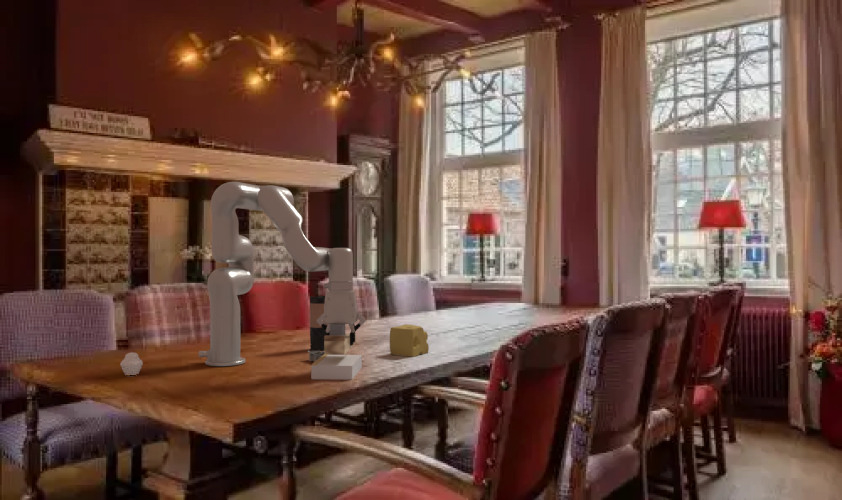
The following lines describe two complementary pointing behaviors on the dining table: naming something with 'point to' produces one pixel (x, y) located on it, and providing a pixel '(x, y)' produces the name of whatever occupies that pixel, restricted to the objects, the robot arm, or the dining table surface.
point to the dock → (336, 367)
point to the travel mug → (316, 329)
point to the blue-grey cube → (337, 330)
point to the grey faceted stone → (131, 364)
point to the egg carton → (315, 355)
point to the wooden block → (337, 345)
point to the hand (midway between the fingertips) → (341, 344)
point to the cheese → (408, 340)
